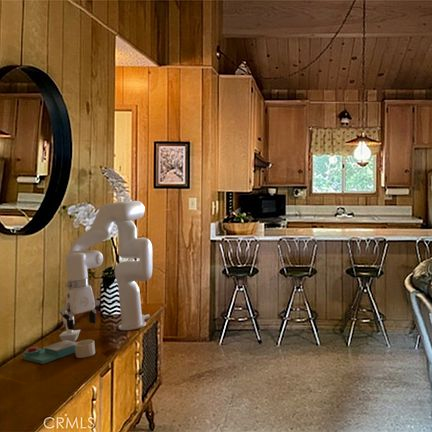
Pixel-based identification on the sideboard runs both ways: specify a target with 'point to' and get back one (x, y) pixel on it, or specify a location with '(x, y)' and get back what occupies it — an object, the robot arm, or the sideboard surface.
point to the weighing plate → (61, 348)
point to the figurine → (69, 332)
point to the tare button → (32, 349)
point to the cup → (84, 348)
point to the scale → (39, 356)
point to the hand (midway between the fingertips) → (82, 326)
